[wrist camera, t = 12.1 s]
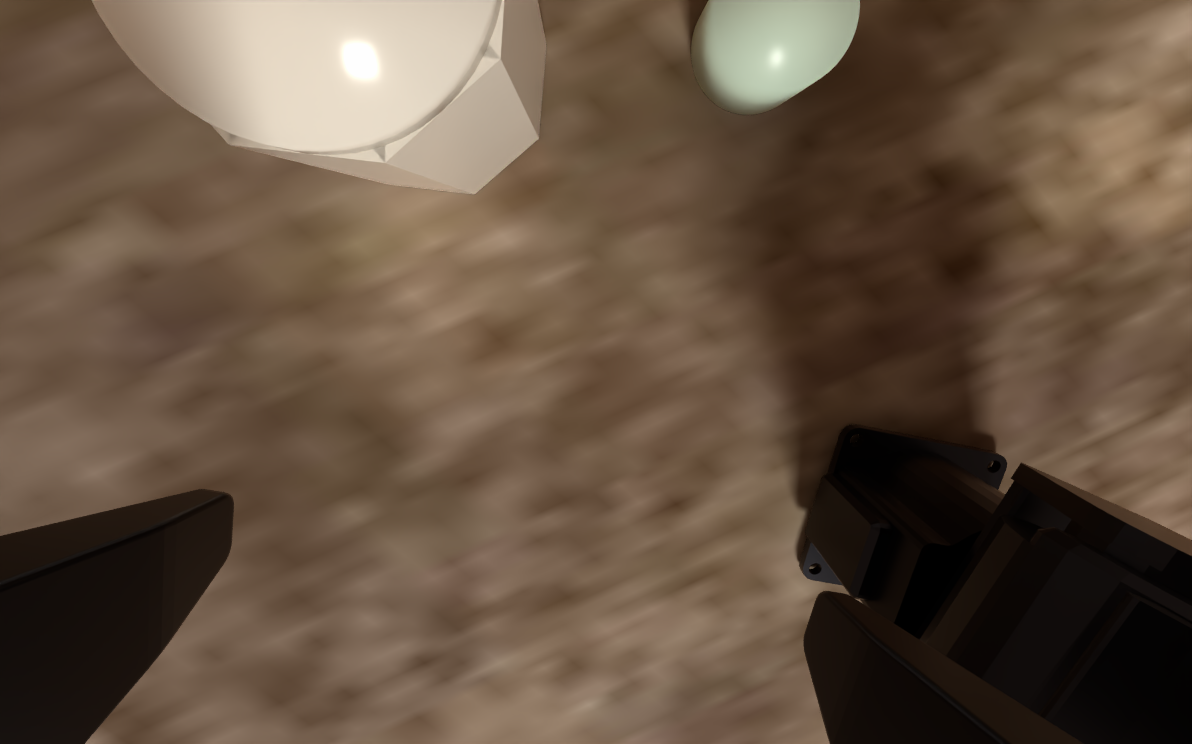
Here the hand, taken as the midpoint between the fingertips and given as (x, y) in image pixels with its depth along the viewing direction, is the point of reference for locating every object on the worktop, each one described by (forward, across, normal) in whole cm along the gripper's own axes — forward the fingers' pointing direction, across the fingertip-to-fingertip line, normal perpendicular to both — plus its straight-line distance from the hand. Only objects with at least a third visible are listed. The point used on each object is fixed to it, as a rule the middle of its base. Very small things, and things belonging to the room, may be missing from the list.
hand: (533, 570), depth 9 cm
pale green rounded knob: (+13, -4, -12) cm, 18 cm away
